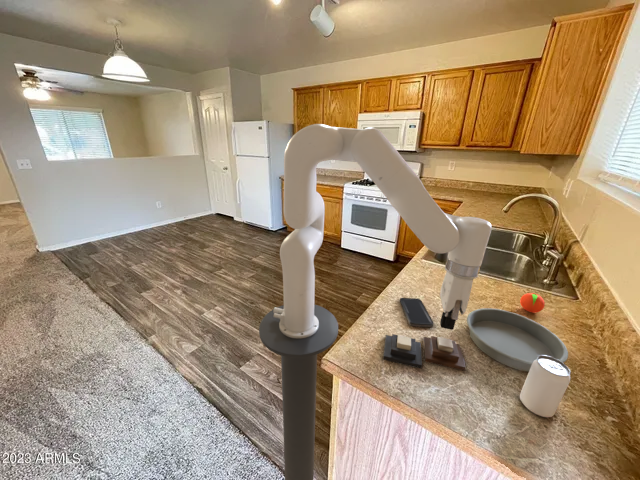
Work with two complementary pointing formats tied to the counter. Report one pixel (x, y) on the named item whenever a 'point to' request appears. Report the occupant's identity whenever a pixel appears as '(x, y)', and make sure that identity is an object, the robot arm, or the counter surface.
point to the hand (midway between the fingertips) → (446, 326)
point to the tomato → (532, 302)
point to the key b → (444, 344)
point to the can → (545, 386)
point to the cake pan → (513, 338)
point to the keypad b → (443, 354)
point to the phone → (416, 312)
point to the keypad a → (402, 352)
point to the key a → (404, 342)
